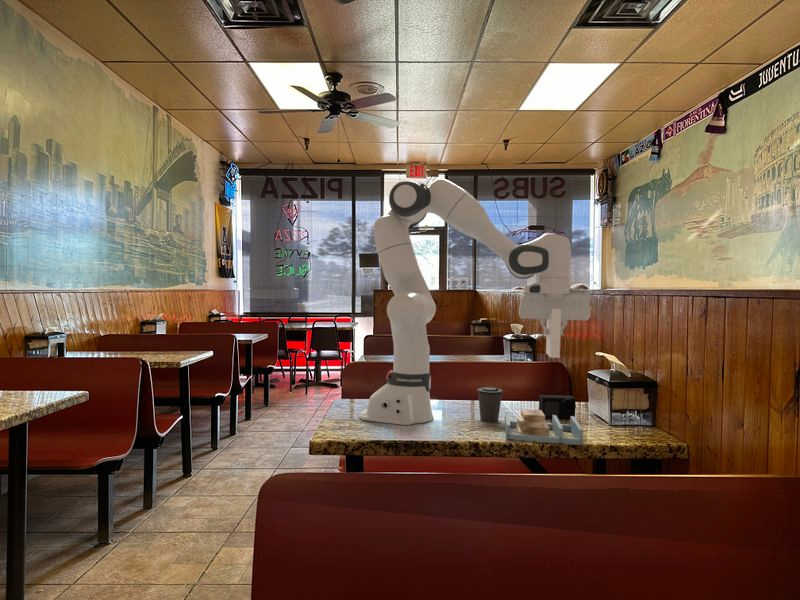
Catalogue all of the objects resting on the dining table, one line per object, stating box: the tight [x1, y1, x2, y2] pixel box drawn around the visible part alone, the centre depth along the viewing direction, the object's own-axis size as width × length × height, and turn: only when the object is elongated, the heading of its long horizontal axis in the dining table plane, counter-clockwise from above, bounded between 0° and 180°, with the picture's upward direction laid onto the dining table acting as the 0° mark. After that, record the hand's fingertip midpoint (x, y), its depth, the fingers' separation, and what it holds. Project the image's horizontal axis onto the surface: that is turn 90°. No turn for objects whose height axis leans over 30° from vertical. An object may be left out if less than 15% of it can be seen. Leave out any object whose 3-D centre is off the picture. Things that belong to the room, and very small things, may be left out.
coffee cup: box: [476, 386, 504, 423], centre depth 157 cm, size 8×8×10 cm
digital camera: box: [538, 394, 577, 421], centre depth 161 cm, size 10×5×7 cm, turn 90°
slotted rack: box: [504, 411, 584, 446], centre depth 142 cm, size 20×15×4 cm
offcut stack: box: [515, 408, 550, 436], centre depth 142 cm, size 8×10×6 cm
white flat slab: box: [545, 308, 562, 359], centre depth 151 cm, size 2×12×14 cm, turn 170°
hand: (553, 334), depth 151 cm, fingers closed on white flat slab, 2 cm apart
